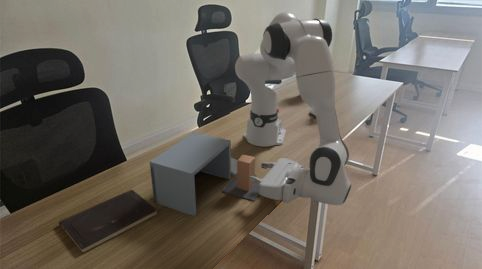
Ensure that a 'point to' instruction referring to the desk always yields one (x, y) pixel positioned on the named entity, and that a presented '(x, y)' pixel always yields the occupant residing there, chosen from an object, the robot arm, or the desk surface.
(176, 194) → the cubby
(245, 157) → the block
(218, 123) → the desk surface
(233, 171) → the hard drive
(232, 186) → the mat
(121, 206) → the hardcover book
